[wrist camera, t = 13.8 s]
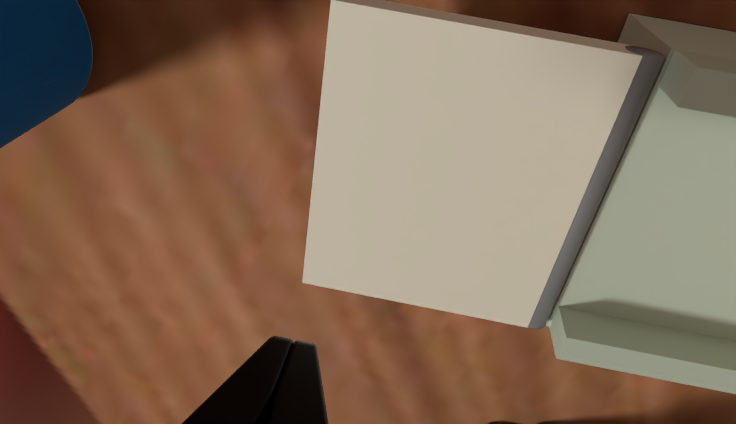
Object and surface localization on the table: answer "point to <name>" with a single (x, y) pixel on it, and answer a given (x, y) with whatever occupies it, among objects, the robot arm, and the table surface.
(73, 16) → the beverage can
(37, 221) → the table surface
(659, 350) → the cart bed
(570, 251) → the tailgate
